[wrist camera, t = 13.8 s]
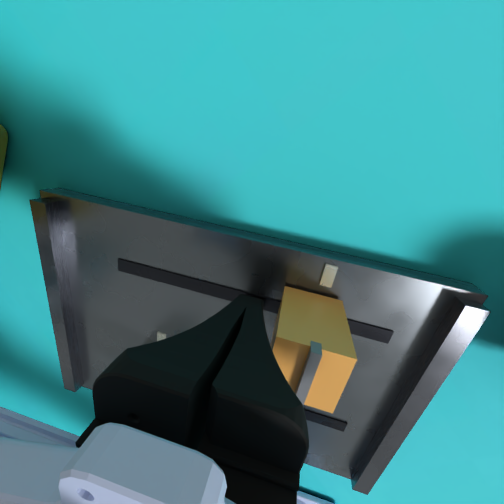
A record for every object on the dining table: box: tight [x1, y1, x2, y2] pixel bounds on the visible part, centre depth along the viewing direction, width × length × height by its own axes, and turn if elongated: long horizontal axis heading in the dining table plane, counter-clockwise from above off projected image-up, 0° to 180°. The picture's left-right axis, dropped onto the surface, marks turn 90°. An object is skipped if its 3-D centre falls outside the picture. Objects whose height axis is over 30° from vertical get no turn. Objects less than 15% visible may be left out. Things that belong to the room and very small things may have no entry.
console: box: [30, 188, 490, 495], centre depth 16 cm, size 16×24×2 cm, turn 80°
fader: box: [271, 286, 357, 413], centre depth 11 cm, size 3×3×4 cm
